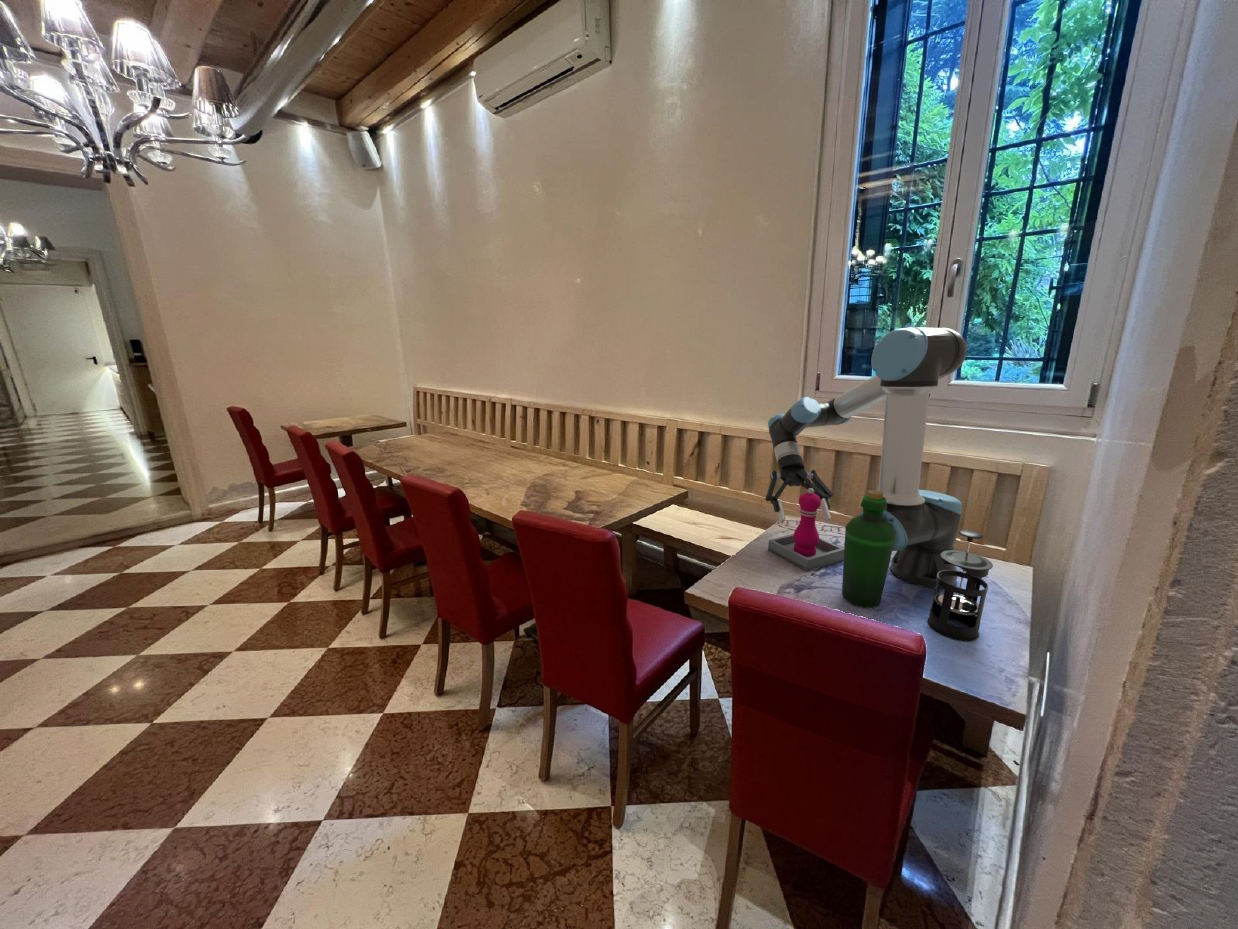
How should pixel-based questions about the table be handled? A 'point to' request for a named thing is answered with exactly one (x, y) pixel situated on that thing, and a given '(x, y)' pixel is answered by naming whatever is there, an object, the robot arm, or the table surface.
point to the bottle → (867, 552)
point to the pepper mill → (807, 524)
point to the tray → (824, 556)
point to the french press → (958, 605)
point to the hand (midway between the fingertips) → (805, 520)
